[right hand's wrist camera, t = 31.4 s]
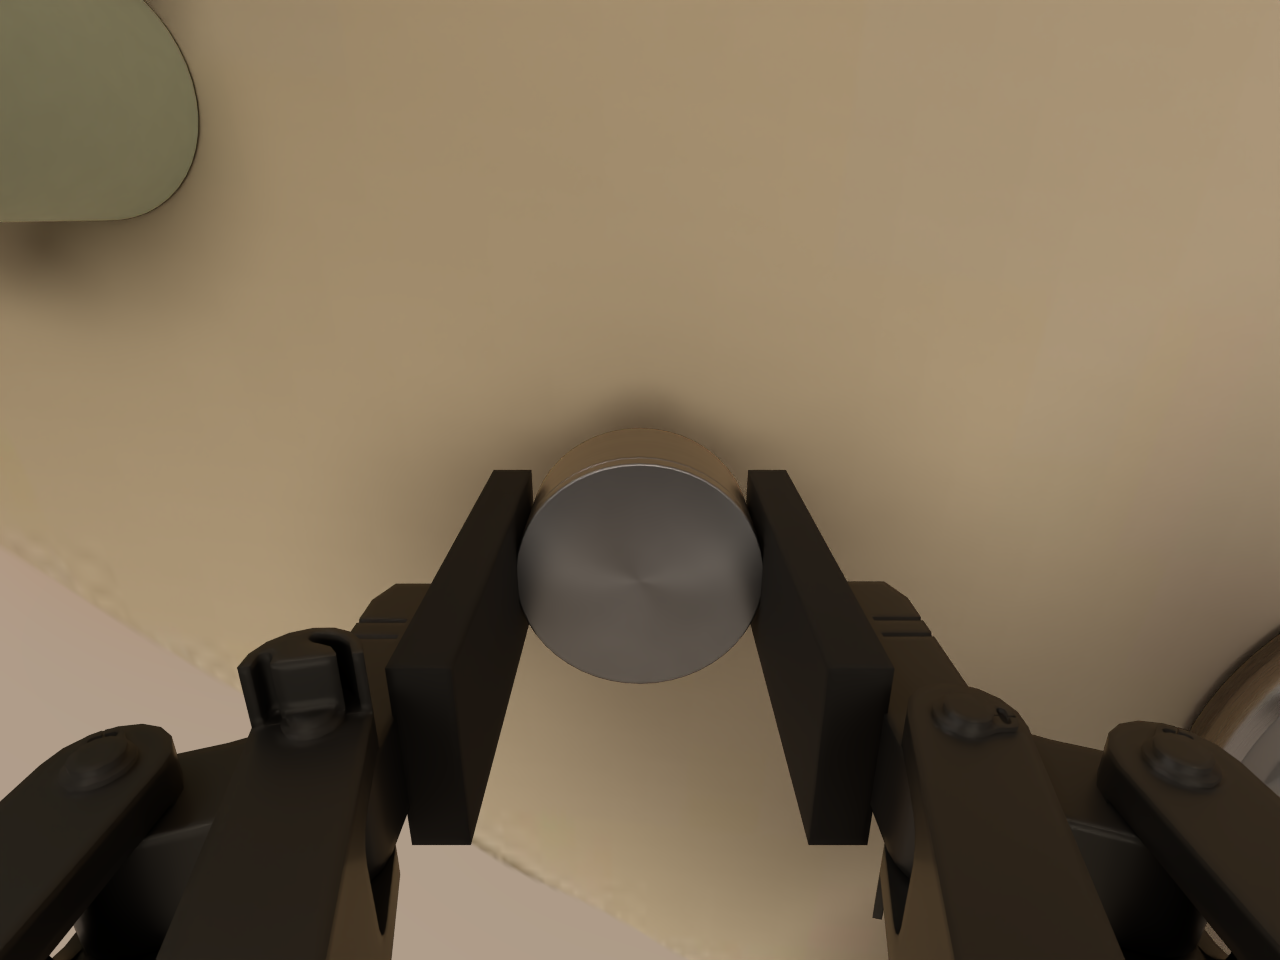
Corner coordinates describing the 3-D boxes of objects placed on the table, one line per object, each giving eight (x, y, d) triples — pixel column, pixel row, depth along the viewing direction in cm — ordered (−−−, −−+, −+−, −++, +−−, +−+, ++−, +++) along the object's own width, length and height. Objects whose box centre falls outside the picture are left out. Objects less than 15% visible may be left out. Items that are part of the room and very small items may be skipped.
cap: (524, 612, 15) (507, 671, 13) (539, 414, 14) (522, 449, 12) (728, 634, 15) (741, 695, 13) (766, 441, 14) (787, 479, 12)
